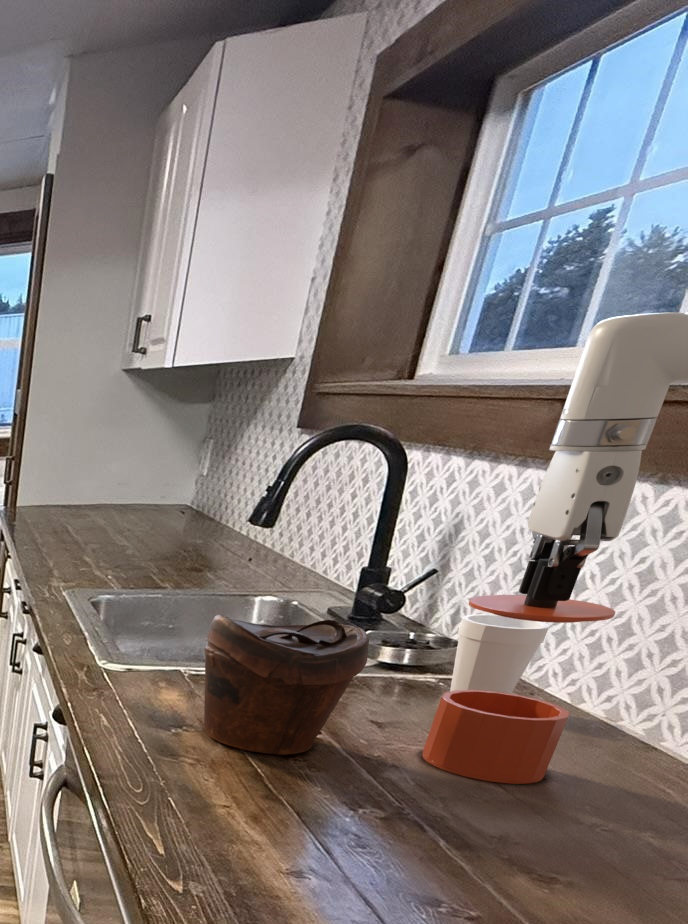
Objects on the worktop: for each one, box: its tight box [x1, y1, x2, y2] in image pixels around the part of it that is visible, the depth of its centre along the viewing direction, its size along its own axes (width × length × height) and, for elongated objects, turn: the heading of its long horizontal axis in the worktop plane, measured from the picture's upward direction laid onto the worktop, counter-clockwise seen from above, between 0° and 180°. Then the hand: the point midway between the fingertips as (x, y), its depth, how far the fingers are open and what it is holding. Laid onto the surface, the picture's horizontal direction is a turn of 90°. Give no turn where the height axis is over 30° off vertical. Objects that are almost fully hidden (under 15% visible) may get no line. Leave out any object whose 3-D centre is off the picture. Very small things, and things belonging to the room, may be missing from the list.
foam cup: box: [449, 613, 550, 694], centre depth 126 cm, size 10×9×13 cm
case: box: [203, 614, 370, 756], centre depth 115 cm, size 18×20×18 cm
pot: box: [422, 690, 570, 785], centre depth 106 cm, size 12×12×8 cm
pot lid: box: [468, 558, 616, 624], centre depth 100 cm, size 13×13×7 cm
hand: (543, 595), depth 100 cm, fingers closed on pot lid, 2 cm apart
